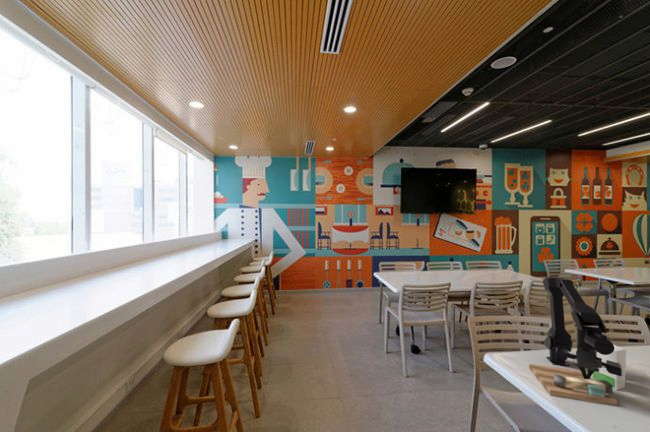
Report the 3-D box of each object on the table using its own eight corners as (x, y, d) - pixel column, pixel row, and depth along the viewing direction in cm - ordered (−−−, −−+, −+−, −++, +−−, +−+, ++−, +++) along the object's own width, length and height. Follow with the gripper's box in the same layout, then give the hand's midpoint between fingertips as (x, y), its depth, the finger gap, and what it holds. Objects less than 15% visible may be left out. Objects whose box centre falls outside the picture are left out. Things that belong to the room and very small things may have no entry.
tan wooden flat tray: (528, 368, 124) (528, 357, 124) (583, 375, 118) (583, 364, 118) (550, 395, 105) (549, 382, 105) (616, 406, 99) (616, 392, 99)
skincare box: (590, 379, 115) (590, 342, 115) (600, 376, 117) (599, 339, 118) (617, 391, 107) (617, 350, 107) (627, 387, 109) (626, 348, 110)
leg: (557, 387, 106) (557, 379, 106) (551, 381, 110) (551, 374, 110) (613, 393, 102) (613, 385, 102) (605, 388, 105) (605, 380, 105)
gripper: (553, 341, 109) (553, 380, 109) (622, 358, 96) (622, 403, 96) (556, 333, 117) (556, 369, 117) (621, 348, 103) (621, 389, 103)
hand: (586, 382), depth 108 cm, fingers closed
